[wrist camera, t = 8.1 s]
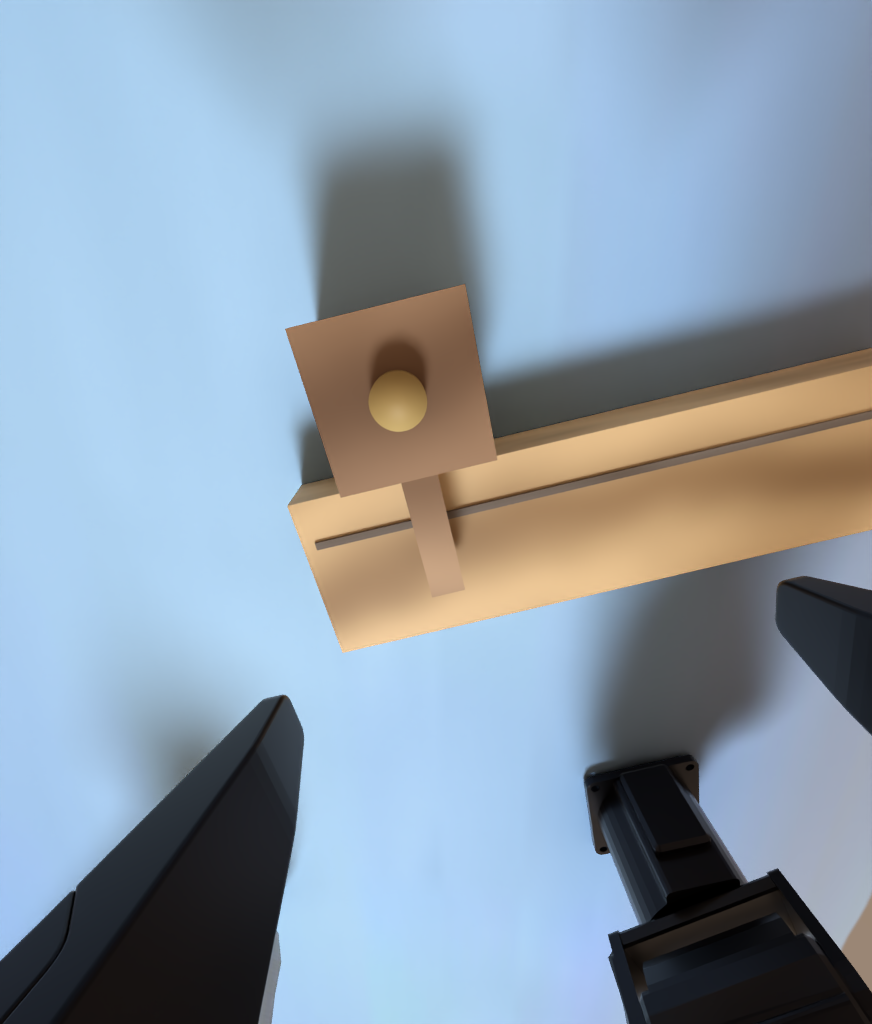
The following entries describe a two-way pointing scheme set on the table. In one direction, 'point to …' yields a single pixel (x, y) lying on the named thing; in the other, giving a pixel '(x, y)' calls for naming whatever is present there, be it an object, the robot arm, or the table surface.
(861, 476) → the board
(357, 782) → the table surface
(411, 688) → the table surface
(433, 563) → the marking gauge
